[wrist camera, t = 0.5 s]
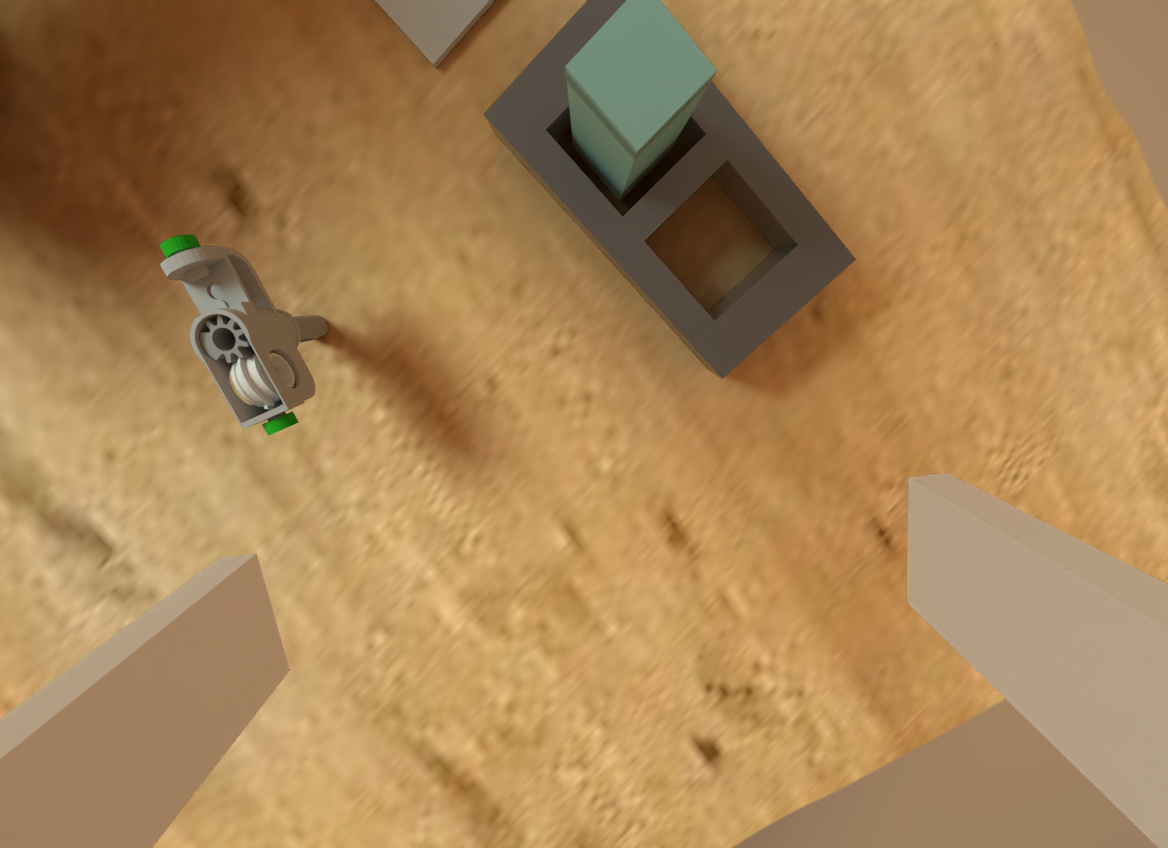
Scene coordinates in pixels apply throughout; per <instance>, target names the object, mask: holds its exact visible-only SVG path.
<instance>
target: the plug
mask: <svg viewBox="0 0 1168 848" xmlns="http://www.w3.org/2000/svg"><path fill="white" fill-rule="evenodd" d="M565 70H566V71H565V77H566V81H567V90H568V100H569V109H570V119H571V129H572V139H573V148H574V150H575V151H576V152H577V153H578V154H579V156H580V157H581V158H582V159H583V160H584V161H585V162H586V164H587V165H588V166H589V167H590V168H591V169H592V170H593V171H594V173H595V174H596V175H597V176H598V177H599V178H600V179H601V181H602V182H603V183H604V184H605V185H606V186H607V187H608V189H609V190H610V191H611V192H612V193H613V194H614V195H615V196H616V198H617V199H618V200H619V201H621V200H622V199H623V198H624V197H625V196H626V195H627V194H628V193H629V192H630V191H631V190H632V189H633V188H634V187H635V186H636V185H637V184H638V183H639V182H640V181H641V180H642V179H643V178H644V177H645V176H646V175H647V174H648V173H649V172H650V171H651V170H652V169H653V168H654V167H655V166H656V165H657V164H658V163H659V162H660V161H661V160H662V159H663V158H664V157H665V156H666V155H667V154H668V153H669V152H670V150H671V148H672V147H673V145H674V143H675V142H676V140H677V138H678V136H679V135H680V133H681V131H682V130H683V128H684V126H685V124H686V123H687V121H688V119H689V117H690V116H691V114H692V112H693V111H694V109H695V107H696V105H697V104H698V102H699V100H700V99H701V97H702V95H703V93H704V92H705V90H706V88H707V87H708V85H709V84H710V83H711V81H712V79H713V78H714V76H715V73H716V71H717V70H716V68H715V67H714V66H713V65H712V63H711V62H710V61H709V60H708V58H707V57H706V56H705V55H704V54H703V52H702V51H701V50H700V49H699V47H698V46H697V45H696V44H695V42H694V41H693V40H692V39H691V37H690V36H689V35H688V34H687V32H686V31H685V30H684V29H683V27H682V26H681V25H680V24H679V22H678V21H677V20H676V19H675V18H674V16H673V15H672V14H671V13H670V11H669V10H668V9H667V8H666V6H665V5H664V4H663V3H662V1H661V0H626V1H625V3H624V4H623V5H622V6H621V7H620V8H619V9H618V10H617V11H616V12H615V13H614V14H613V15H612V17H611V18H610V19H609V20H608V21H607V22H606V23H605V24H604V25H603V26H602V27H601V28H600V29H599V31H598V32H597V33H596V34H595V35H594V36H593V37H592V38H591V39H590V40H589V41H588V42H587V43H586V45H585V46H584V47H583V48H582V49H581V50H580V51H579V52H578V53H577V54H576V55H575V56H574V57H573V59H572V60H571V61H570V62H569V63H568V64H567V65H566V66H565Z"/></svg>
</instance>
